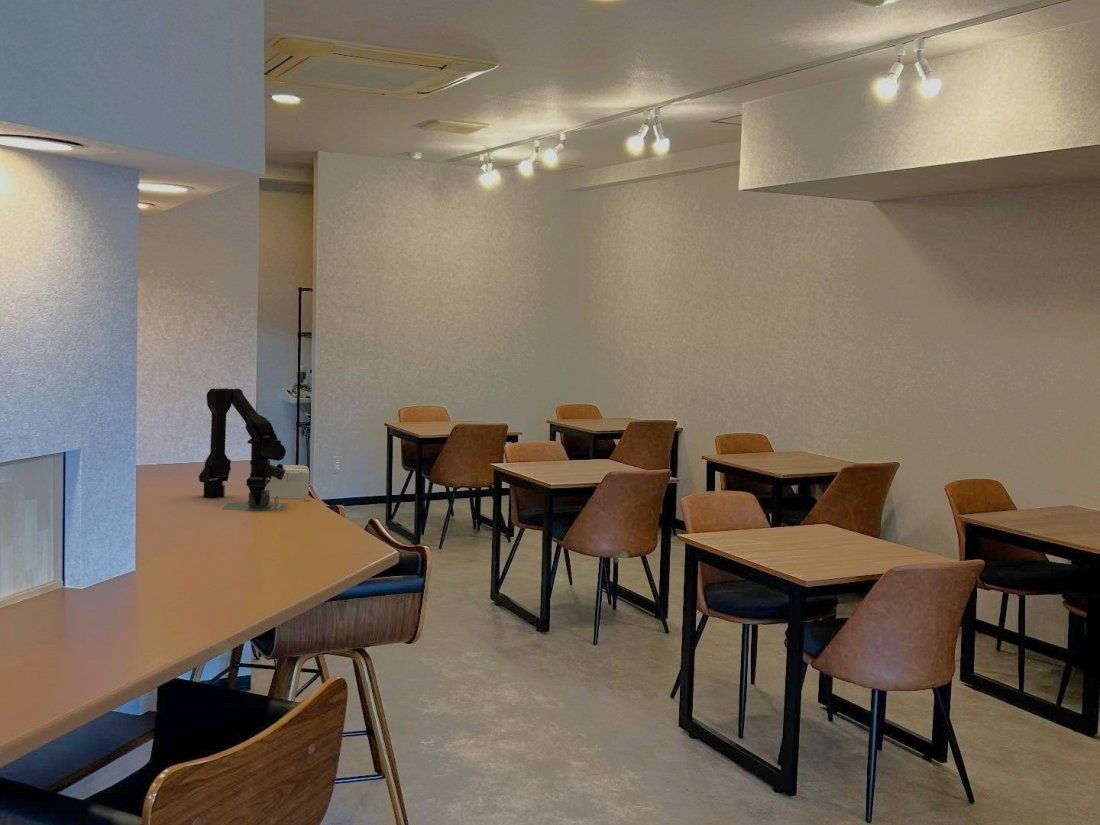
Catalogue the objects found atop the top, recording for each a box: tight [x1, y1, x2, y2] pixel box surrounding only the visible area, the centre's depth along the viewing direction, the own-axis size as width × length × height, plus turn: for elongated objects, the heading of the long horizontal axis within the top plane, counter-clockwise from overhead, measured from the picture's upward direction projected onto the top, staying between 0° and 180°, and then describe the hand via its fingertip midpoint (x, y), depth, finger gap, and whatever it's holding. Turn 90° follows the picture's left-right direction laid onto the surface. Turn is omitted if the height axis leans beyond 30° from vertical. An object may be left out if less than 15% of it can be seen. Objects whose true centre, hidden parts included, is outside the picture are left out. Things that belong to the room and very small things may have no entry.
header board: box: [221, 496, 288, 511], centre depth 350 cm, size 20×14×4 cm
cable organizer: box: [265, 464, 310, 500], centre depth 372 cm, size 15×11×12 cm
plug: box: [248, 489, 271, 507], centre depth 350 cm, size 6×7×4 cm
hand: (259, 502), depth 350 cm, fingers closed on plug, 7 cm apart
